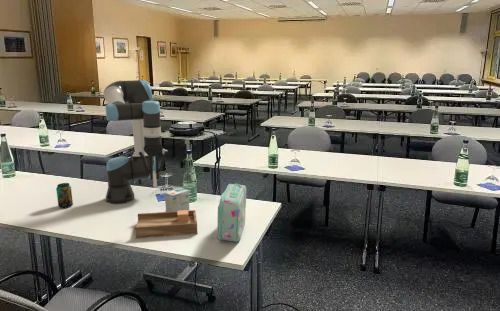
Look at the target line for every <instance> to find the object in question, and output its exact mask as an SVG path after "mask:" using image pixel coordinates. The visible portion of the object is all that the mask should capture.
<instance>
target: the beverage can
mask: <svg viewBox="0 0 500 311" xmlns="http://www.w3.org/2000/svg"><path fill="white" fill-rule="evenodd" d="M55 191H56V198H57V205H58V207H59V208H61V209H67V208H71V207H72V206H73V205H74V201H73V194H72V187H71V184H70V183H67V182H62V183H59V184H57V187H56V189H55Z"/></svg>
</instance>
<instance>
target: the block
mask: <svg viewBox="0 0 500 311" xmlns="http://www.w3.org/2000/svg"><path fill="white" fill-rule="evenodd" d="M188 211H189V210H181V211H177V214H178V223H183V222H189V216H188Z"/></svg>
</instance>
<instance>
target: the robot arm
mask: <svg viewBox="0 0 500 311" xmlns="http://www.w3.org/2000/svg"><path fill="white" fill-rule="evenodd" d="M103 98H104V100H105V102H107V104H106V105H105V115H106V121H109V122H121V121H131V122H132V133H133V145H134V146H133V147H134V152H133V154H132V158H129V156H123V155H122V156H117V157H113V158H111V159H109V160H108V161H106V173H107V176H106V177H107V187H108V188H107V191H106V194H105V201H106V203H108V204H113V205H122V204H127V203H129V202H132V201H133V200H135V197H136V196H135V192H134V190H133V187H132V185H131V181H137V180H145V179H146V180H148V179H150V180H152V185H153V188H157V187H158V183H157V181H158V180H159V179H160V172H163V171H164V170H163V169H164V165H165V161H166V158H167V157H166V156H167V155H168V153H169V151H168V149H165V148H164V147H163V146H162V144H163V143H162V136H161V135H162V129H161V128H162V127H161V106H160V102H159V101H158V100H153V92H152V88H151V85H150V82H148V81H147V80H142V79H141V80H140V79H139V80H137V79H136V80H135V79H133V80H117V81H114V82H111V83H109V84H108V85H107V86H106V87H105V89H104V90H103ZM161 153H162V156H161V162H160V165H159V156H160V154H161Z"/></svg>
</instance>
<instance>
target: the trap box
mask: <svg viewBox="0 0 500 311" xmlns="http://www.w3.org/2000/svg"><path fill="white" fill-rule="evenodd" d="M196 212H197V211H196V210H195V209H191V210H190V209H189V210H188V216H189V222H183V223H178V214H177V211H173V212H166V211H160V212H145V213H137V223H136V226H135V227H134V236H135V237H134V238H135V239H146V238H159V237H161V238H162V237H169V236H171V237H172V236H174V237H175V236H187V235H197V234H198V220H197V214H196Z"/></svg>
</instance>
